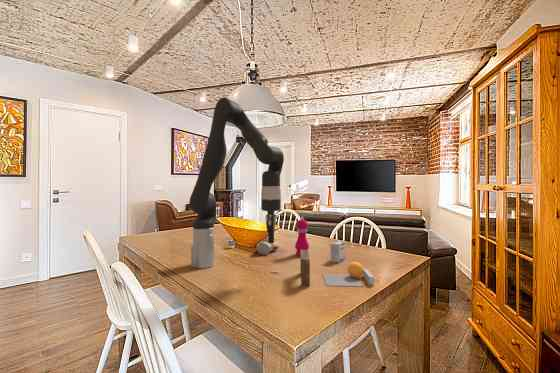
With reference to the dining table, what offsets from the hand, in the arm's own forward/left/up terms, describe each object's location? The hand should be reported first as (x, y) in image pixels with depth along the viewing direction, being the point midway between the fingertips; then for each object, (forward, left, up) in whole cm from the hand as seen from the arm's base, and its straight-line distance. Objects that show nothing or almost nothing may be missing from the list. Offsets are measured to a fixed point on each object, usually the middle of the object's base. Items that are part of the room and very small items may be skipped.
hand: (271, 242), depth 107 cm
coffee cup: (-27, +52, -15) cm, 61 cm away
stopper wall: (+37, 0, -14) cm, 40 cm away
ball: (+33, +3, -11) cm, 35 cm away
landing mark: (+27, 0, -14) cm, 30 cm away
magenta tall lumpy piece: (+13, +38, -14) cm, 43 cm away
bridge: (+13, 0, -14) cm, 19 cm away
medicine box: (+30, +28, -14) cm, 43 cm away
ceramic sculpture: (-6, +43, -14) cm, 45 cm away
